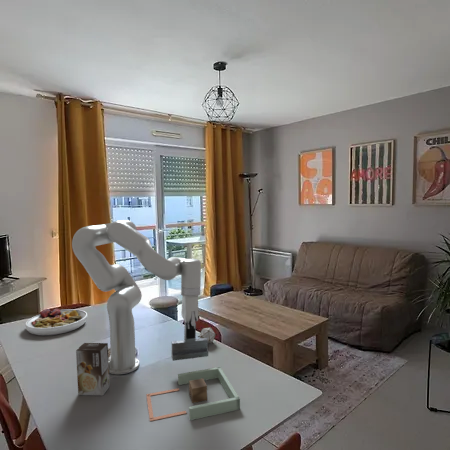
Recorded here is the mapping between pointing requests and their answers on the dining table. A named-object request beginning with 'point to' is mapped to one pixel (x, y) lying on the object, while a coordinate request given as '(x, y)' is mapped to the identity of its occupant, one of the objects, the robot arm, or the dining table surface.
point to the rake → (189, 347)
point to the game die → (207, 334)
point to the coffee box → (92, 368)
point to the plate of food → (56, 321)
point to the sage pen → (216, 406)
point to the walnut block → (197, 390)
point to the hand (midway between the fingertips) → (189, 336)
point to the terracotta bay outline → (152, 410)
